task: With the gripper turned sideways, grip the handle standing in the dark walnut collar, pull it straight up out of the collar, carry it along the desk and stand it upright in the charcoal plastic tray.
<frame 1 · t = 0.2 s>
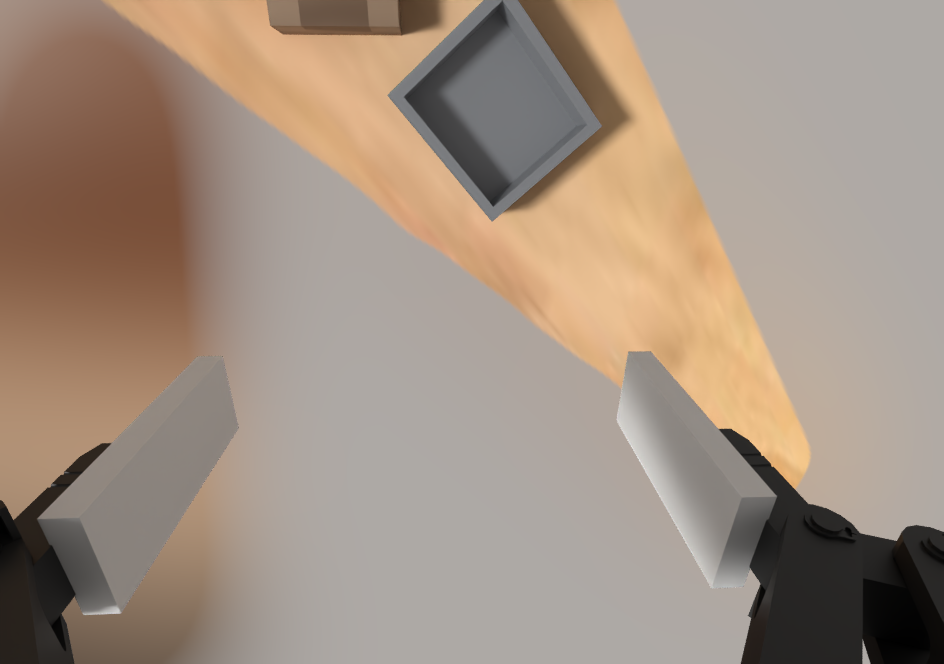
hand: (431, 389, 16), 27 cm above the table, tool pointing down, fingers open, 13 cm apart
tray: (492, 113, 38), on the table
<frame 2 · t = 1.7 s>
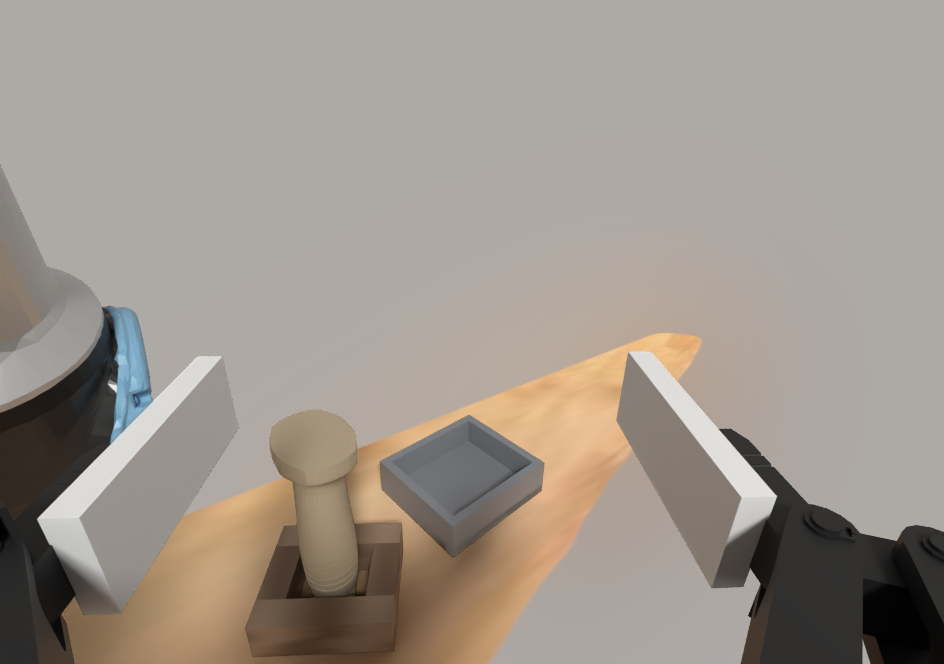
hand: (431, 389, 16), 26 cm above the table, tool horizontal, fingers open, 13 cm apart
handle: (336, 598, 37), resting in collar
collar: (336, 596, 37), on the table
tray: (461, 490, 47), on the table
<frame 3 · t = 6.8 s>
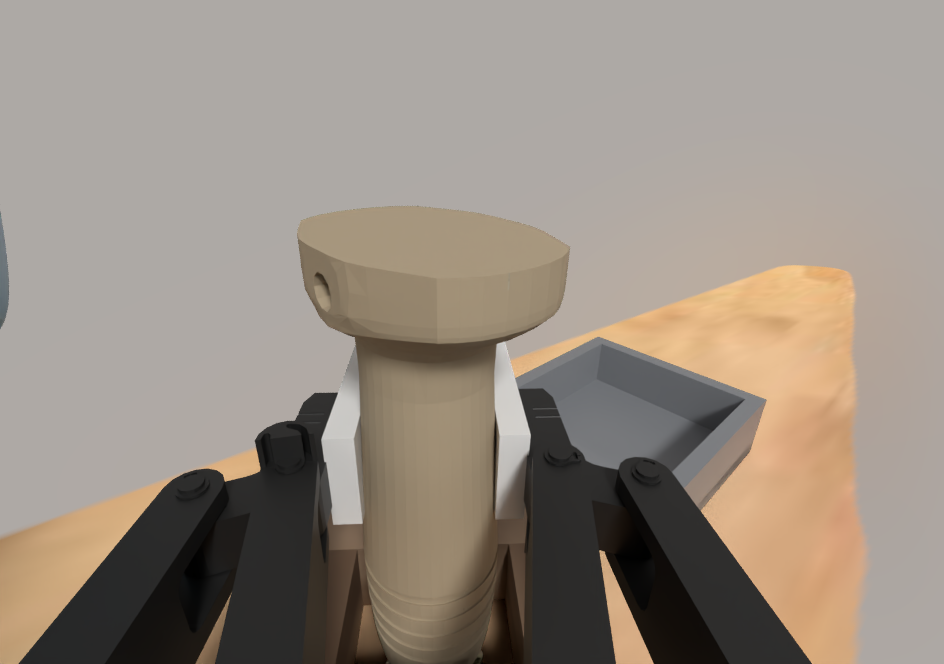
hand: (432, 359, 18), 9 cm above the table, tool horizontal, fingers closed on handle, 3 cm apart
collar: (434, 662, 17), on the table
tray: (613, 451, 27), on the table
when the fingers open (11 cm above the table, at t = 12.0 s): handle drops 2 cm, resting on tray.
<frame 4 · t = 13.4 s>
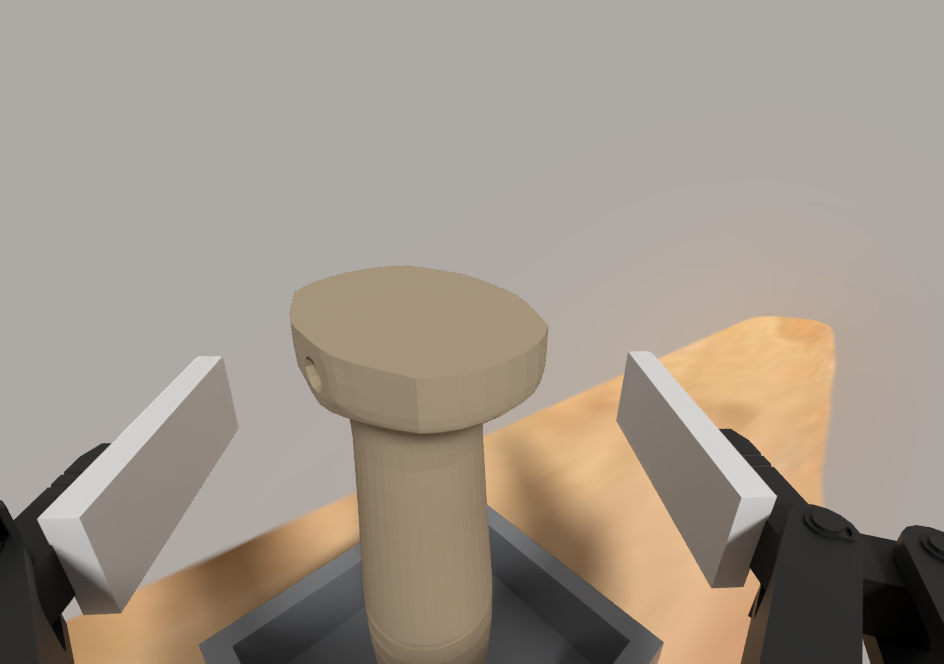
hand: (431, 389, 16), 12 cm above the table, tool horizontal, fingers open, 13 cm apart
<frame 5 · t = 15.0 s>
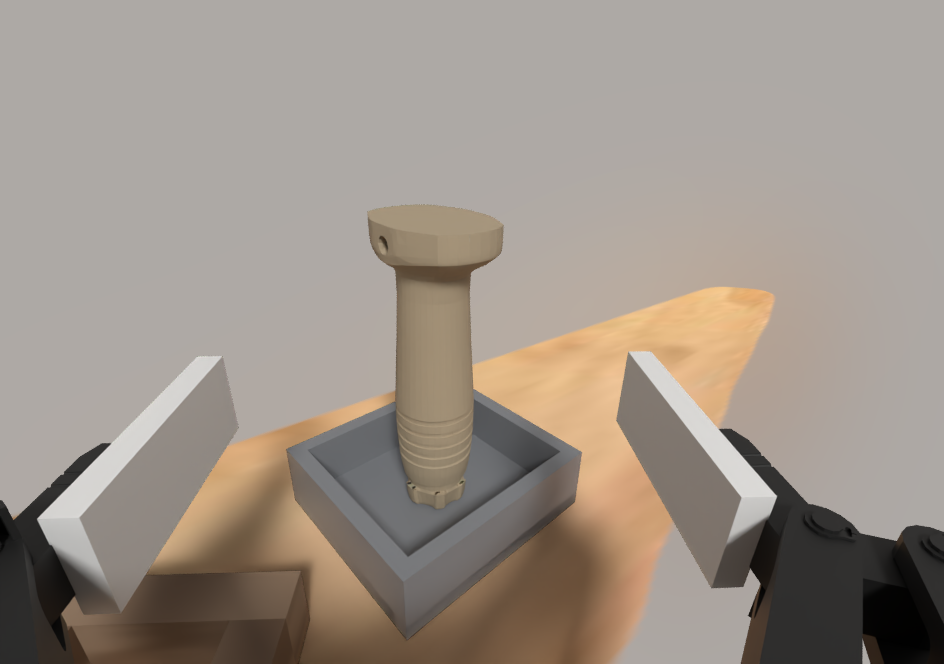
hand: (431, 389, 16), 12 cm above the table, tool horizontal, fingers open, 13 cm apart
handle: (435, 493, 27), point 1 cm above the table, touching tray
tray: (435, 500, 27), on the table
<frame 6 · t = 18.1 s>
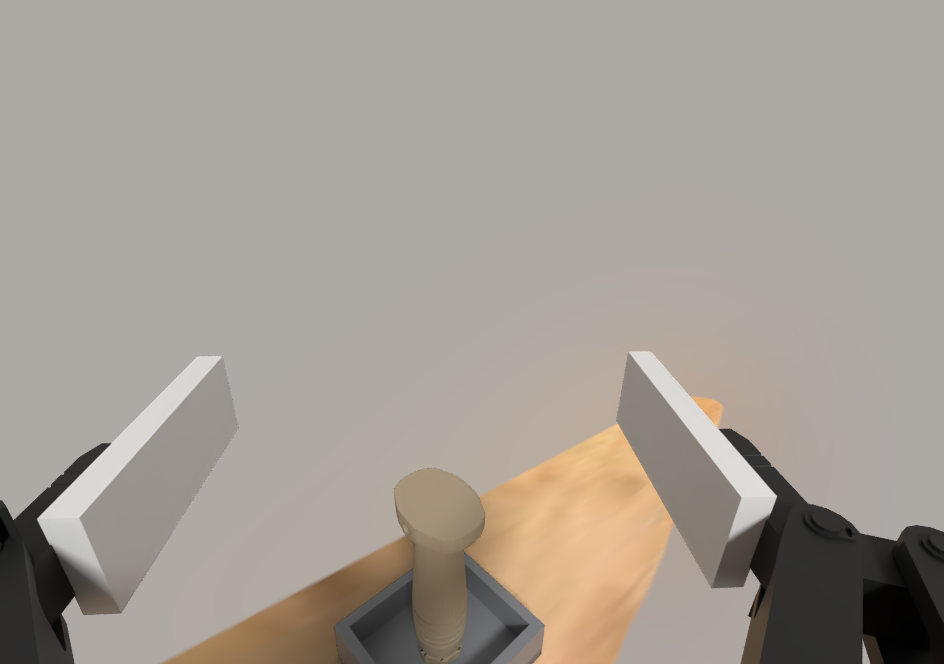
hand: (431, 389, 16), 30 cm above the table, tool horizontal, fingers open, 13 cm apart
handle: (440, 651, 37), point 1 cm above the table, touching tray
tray: (440, 654, 37), on the table
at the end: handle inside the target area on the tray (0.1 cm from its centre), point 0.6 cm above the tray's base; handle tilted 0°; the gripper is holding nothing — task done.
